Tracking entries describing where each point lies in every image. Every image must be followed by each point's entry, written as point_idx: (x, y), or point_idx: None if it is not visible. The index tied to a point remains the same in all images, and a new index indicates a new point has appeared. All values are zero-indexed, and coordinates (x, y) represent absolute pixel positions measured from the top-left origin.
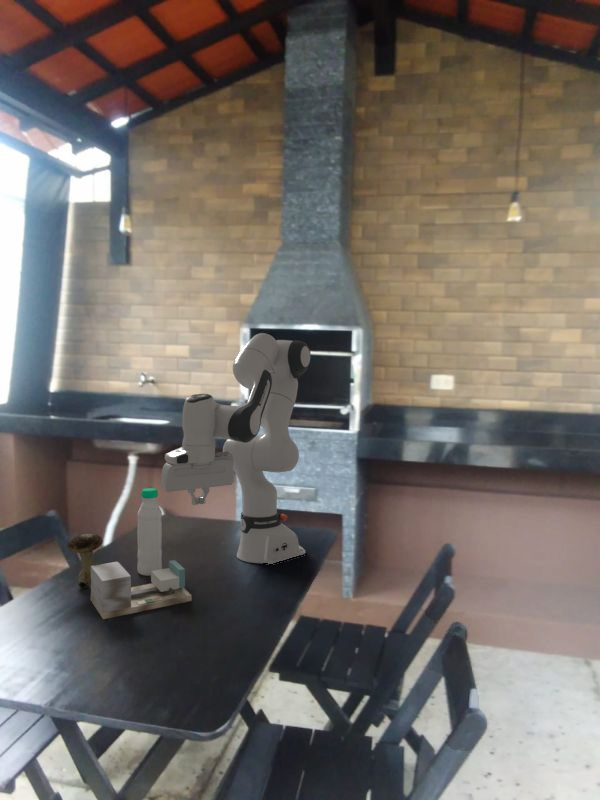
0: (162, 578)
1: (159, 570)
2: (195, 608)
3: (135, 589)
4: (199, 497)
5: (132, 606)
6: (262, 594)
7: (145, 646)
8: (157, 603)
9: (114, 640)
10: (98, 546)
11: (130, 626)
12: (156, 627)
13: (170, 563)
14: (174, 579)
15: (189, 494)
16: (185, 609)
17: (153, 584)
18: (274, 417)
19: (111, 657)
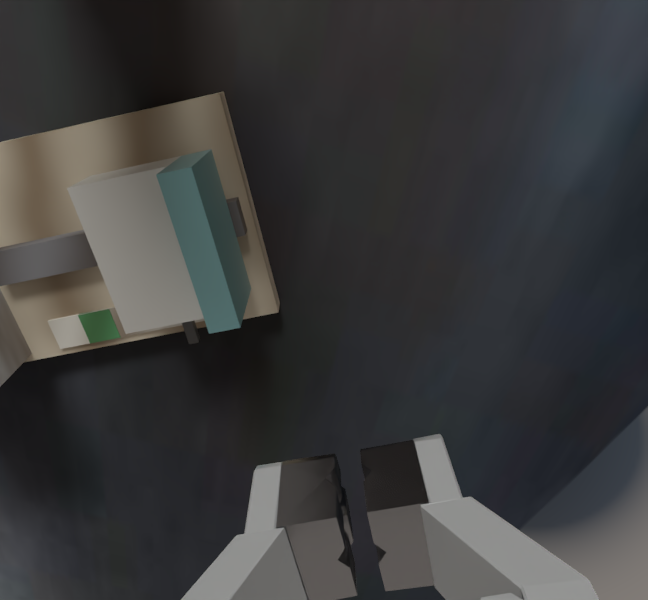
0: (132, 307)
1: (114, 192)
2: (284, 368)
3: (26, 178)
4: (381, 543)
5: (37, 350)
6: (570, 319)
7: (112, 549)
8: (136, 338)
9: (18, 503)
10: None
11: (55, 437)
12: (141, 462)
13: (167, 201)
14: (193, 318)
15: (193, 597)
16: (246, 367)
17: (110, 138)
18: None
19: (26, 575)
